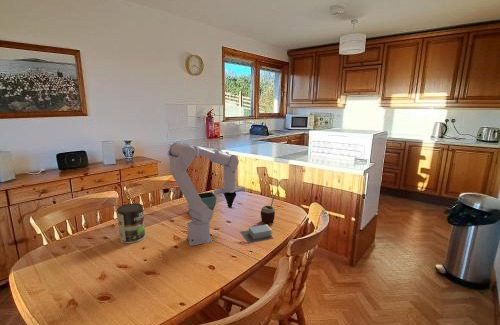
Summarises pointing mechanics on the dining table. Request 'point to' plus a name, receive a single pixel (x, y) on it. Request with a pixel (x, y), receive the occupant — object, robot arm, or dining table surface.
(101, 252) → the dining table surface
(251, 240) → the mat
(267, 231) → the slab
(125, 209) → the coffee can
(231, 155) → the robot arm
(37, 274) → the dining table surface
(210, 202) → the flower pot
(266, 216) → the mate gourd
